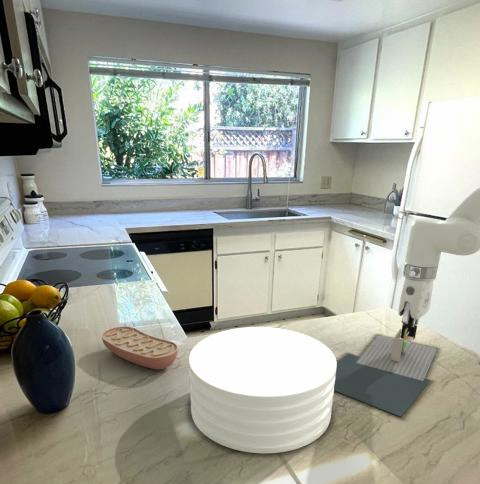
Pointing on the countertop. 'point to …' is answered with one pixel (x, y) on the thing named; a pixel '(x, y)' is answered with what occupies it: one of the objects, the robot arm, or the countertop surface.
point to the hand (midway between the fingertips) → (407, 338)
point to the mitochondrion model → (140, 347)
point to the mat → (376, 386)
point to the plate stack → (261, 388)
